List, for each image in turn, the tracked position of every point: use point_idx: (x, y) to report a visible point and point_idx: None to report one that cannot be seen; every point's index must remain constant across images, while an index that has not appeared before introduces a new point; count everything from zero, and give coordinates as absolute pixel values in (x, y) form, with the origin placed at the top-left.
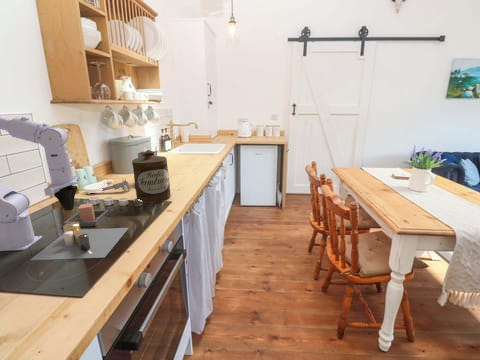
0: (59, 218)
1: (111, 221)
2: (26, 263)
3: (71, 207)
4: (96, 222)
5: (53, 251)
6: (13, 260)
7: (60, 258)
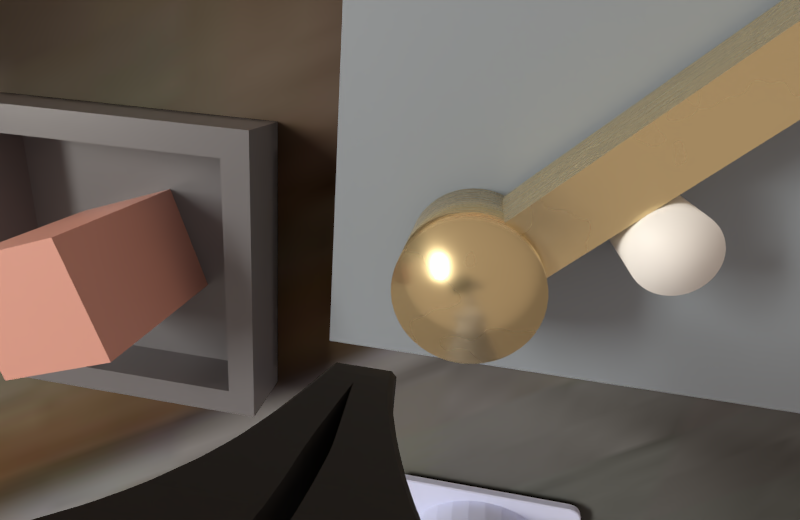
0: (90, 479)
1: (130, 28)
2: (796, 425)
3: (381, 384)
4: (240, 127)
5: (735, 304)
6: (710, 513)
7: None
